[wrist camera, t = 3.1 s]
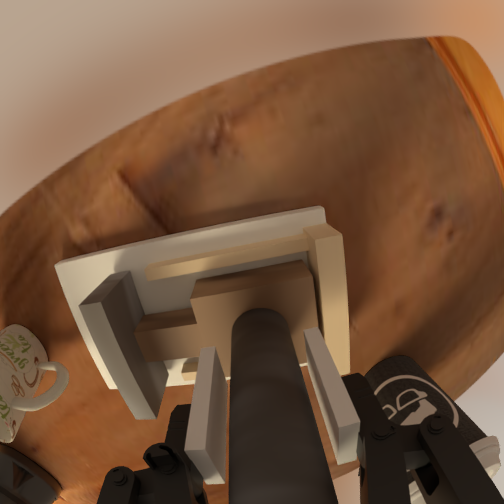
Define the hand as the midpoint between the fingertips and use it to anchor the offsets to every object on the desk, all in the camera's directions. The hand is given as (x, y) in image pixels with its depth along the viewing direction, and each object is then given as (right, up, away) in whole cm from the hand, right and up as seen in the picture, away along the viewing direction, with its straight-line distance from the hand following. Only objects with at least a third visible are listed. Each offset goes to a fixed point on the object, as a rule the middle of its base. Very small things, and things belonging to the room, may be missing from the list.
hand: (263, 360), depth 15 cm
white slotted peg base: (-5, +1, +7) cm, 8 cm away
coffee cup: (+13, -7, +10) cm, 18 cm away
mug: (-22, -4, +8) cm, 23 cm away
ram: (-3, +1, +6) cm, 6 cm away
